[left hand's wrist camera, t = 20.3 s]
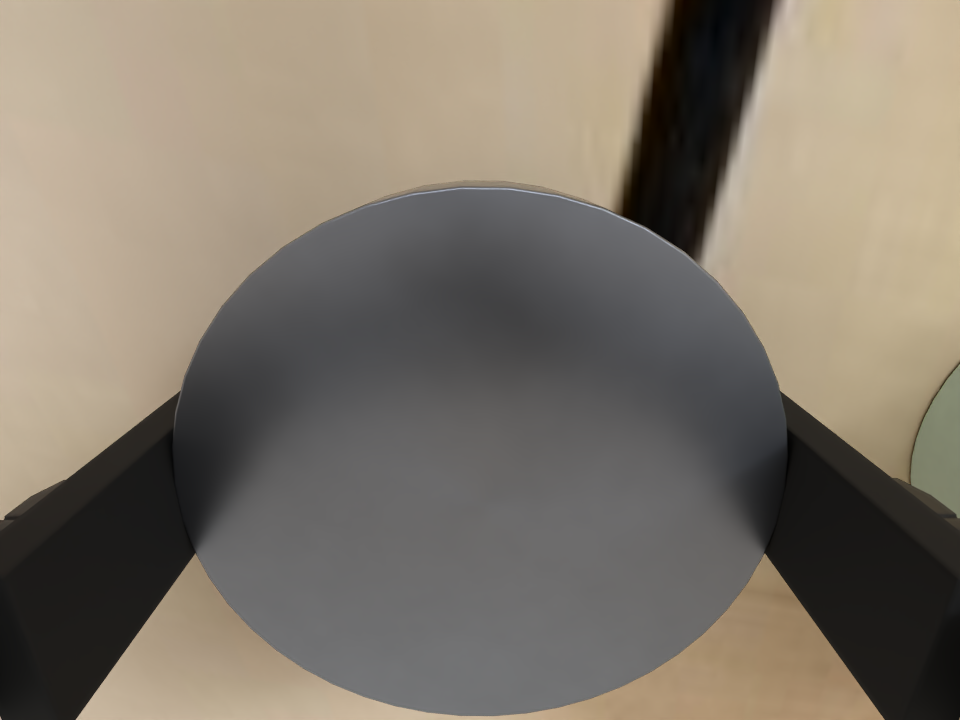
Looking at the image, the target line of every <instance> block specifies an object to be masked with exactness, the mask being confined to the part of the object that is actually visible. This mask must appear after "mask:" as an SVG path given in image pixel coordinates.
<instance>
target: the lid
mask: <svg viewBox="0 0 960 720" xmlns="http://www.w3.org/2000/svg"><path fill="white" fill-rule="evenodd" d="M172 457H173V473H174V485H175V489H176V494H177V498H178V502H179V507H180V511H181V516H182V519H183V522H184V525H185V528H186V530H187V533H188V536H189V538H190V541H191V544H192V546H193V549H194V551H195V552H196V554H197V556H198V558H199V560H200V562H201V564H202V565H203V567H204V569H205V571H206V573H207V575H208V577H209V578H210V580H211V581H212V582H213V584H214V585H215V586H216V588H217V589H218V591H219V592H220V593H221V595H222V596H223V598H224V599H225V600H226V602H227V603H228V604H229V606H230V607H231V608H232V609H233V610H234V611H235V612H236V613H237V614H238V615H239V616H240V617H241V618H242V620H243V621H244V622H245V623H246V624H247V625H248V626H249V627H250V628H251V629H252V630H253V631H254V632H255V633H257V634H258V635H259V636H260V637H261V638H263V639H264V640H265V641H266V642H267V643H268V644H270V645H271V646H272V647H273V648H274V649H276V650H277V651H278V652H280V653H281V654H283V655H284V656H286V657H287V658H289V659H290V660H292V661H293V662H295V663H296V664H298V665H299V666H300V667H302V668H303V669H305V670H307V671H309V672H311V673H313V674H315V675H317V676H318V677H320V678H322V679H324V680H326V681H328V682H330V683H332V684H334V685H336V686H339V687H341V688H344V689H346V690H348V691H351V692H353V693H356V694H358V695H361V696H363V697H366V698H370V699H373V700H376V701H380V702H383V703H387V704H390V705H393V706H397V707H402V708H408V709H413V710H418V711H423V712H428V713H438V714H448V715H458V716H500V715H512V714H524V713H531V712H536V711H542V710H548V709H553V708H559V707H562V706H566V705H570V704H573V703H577V702H580V701H584V700H588V699H591V698H594V697H596V696H599V695H601V694H604V693H607V692H609V691H612V690H614V689H617V688H619V687H622V686H624V685H626V684H628V683H630V682H632V681H634V680H636V679H638V678H640V677H642V676H644V675H646V674H648V673H650V672H651V671H653V670H655V669H656V668H658V667H659V666H661V665H662V664H664V663H665V662H667V661H668V660H670V659H672V658H673V657H675V656H676V655H678V654H679V653H680V652H682V651H683V650H684V649H685V648H687V647H688V646H689V645H690V644H691V643H693V642H694V641H695V640H696V639H698V638H699V637H700V636H701V635H703V634H704V633H705V632H706V631H707V630H708V629H709V628H710V627H711V626H712V625H713V624H714V623H715V622H716V621H717V620H718V619H719V618H720V616H721V615H722V614H723V613H724V612H725V611H726V610H727V609H728V608H729V607H730V605H731V604H732V603H733V601H734V600H735V599H736V597H737V596H738V595H739V594H740V592H741V591H742V590H743V588H744V587H745V586H746V584H747V583H748V581H749V580H750V578H751V576H752V574H753V573H754V571H755V569H756V567H757V566H758V564H759V562H760V560H761V559H762V557H763V555H764V553H765V551H766V548H767V546H768V543H769V541H770V539H771V536H772V534H773V531H774V529H775V526H776V524H777V520H778V516H779V512H780V507H781V503H782V499H783V495H784V491H785V485H786V474H787V464H788V442H787V425H786V417H785V412H784V408H783V403H782V399H781V394H780V390H779V385H778V381H777V379H776V376H775V374H774V371H773V369H772V366H771V364H770V361H769V359H768V356H767V354H766V351H765V349H764V346H763V345H762V343H761V341H760V340H759V338H758V336H757V335H756V333H755V331H754V330H753V328H752V326H751V325H750V323H749V321H748V320H747V318H746V316H745V315H744V313H743V312H742V310H741V309H740V308H739V307H738V306H737V304H736V303H735V302H734V301H733V300H732V298H731V297H730V296H729V295H728V294H727V292H726V291H725V290H724V289H723V288H722V286H721V285H720V284H719V283H718V282H717V280H715V279H714V278H713V277H712V276H711V275H710V274H709V273H708V272H706V271H705V270H704V269H703V268H702V267H701V266H700V265H699V264H697V263H696V262H695V261H694V260H693V259H692V258H691V257H690V256H688V255H687V254H686V253H685V252H684V251H682V250H681V249H679V248H678V247H676V246H674V245H673V244H671V243H670V242H668V241H667V240H665V239H664V238H662V237H661V236H659V235H658V234H656V233H654V232H653V231H651V230H650V229H648V228H647V227H645V226H643V225H640V224H638V223H636V222H634V221H632V220H630V219H627V218H625V217H623V216H621V215H619V214H617V213H614V212H612V211H610V210H608V209H606V208H603V207H601V206H599V205H596V204H594V203H591V202H589V201H586V200H584V199H581V198H578V197H575V196H571V195H568V194H565V193H561V192H558V191H555V190H551V189H548V188H545V187H539V186H532V185H526V184H519V183H513V182H506V181H457V182H449V183H441V184H433V185H425V186H421V187H417V188H414V189H410V190H406V191H403V192H399V193H395V194H391V195H388V196H385V197H382V198H380V199H378V200H375V201H373V202H370V203H368V204H365V205H363V206H361V207H358V208H356V209H354V210H351V211H349V212H347V213H344V214H342V215H340V216H337V217H335V218H333V219H330V220H328V221H326V222H323V223H321V224H320V225H318V226H316V227H315V228H313V229H311V230H310V231H308V232H307V233H305V234H303V235H302V236H300V237H298V238H297V239H295V240H293V241H292V242H290V243H288V244H287V245H285V246H284V247H282V248H281V249H280V250H279V251H277V252H276V253H275V254H274V255H273V256H271V257H270V258H269V259H268V260H267V261H265V262H264V263H263V264H262V265H261V266H259V267H258V268H257V269H256V270H255V271H253V272H252V273H251V274H250V275H249V276H248V277H247V278H246V279H245V281H244V282H243V283H242V284H241V285H240V286H239V287H238V288H237V290H236V291H235V292H234V293H233V294H232V295H231V296H230V297H229V299H228V300H227V301H226V302H225V303H224V304H223V305H222V307H221V308H220V310H219V311H218V313H217V314H216V316H215V318H214V319H213V321H212V322H211V324H210V325H209V327H208V329H207V330H206V332H205V333H204V335H203V336H202V338H201V339H200V341H199V344H198V346H197V348H196V351H195V353H194V355H193V358H192V360H191V362H190V364H189V367H188V369H187V371H186V374H185V376H184V380H183V384H182V388H181V392H180V396H179V400H178V404H177V407H176V411H175V421H174V431H173V442H172Z"/></svg>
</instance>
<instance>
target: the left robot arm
mask: <svg viewBox="0 0 960 720" xmlns="http://www.w3.org/2000/svg"><path fill="white" fill-rule="evenodd" d="M180 392H181V391H180ZM180 392H178V393H177V394H176V395H175V396H173V397H172V398H171V399H169V400H168V401H167V402H166V403H164V404H163V405H162V406H160V407H159V408H158V409H157V410H155V411H154V412H153V413H151V414H150V415H149V416H148V417H146V418H145V419H144V420H142V421H141V422H140V423H139V424H137V425H136V426H135V427H134V428H132V429H131V430H130V431H128V432H127V433H126V434H125V435H123V436H122V437H121V438H119V439H118V440H117V441H116V442H114V443H113V444H112V445H110V446H109V447H108V448H107V449H105V450H104V451H103V452H101V453H100V454H99V455H98V456H96V457H95V458H94V459H92V460H91V461H90V462H89V463H87V464H86V465H85V466H83V467H82V468H81V469H80V470H78V471H77V472H76V473H74V474H73V475H72V476H71V477H69V478H68V479H67V480H63V481H61V482H59V483H57V484H55V485H53V486H51V487H49V488H47V489H45V490H43V491H41V492H39V493H37V494H35V495H33V496H31V497H30V498H28V499H27V500H26V501H24V502H23V503H22V504H20V505H19V506H18V507H16V508H15V509H14V510H12V511H11V512H10V513H8V514H7V515H6V516H5V519H4V520H0V717H1V719H2V720H76V718H77V717H78V716H79V714H80V713H81V711H82V710H83V709H84V707H85V706H86V704H87V703H88V702H89V700H90V699H91V698H92V696H93V695H94V693H95V692H96V691H97V689H98V688H99V686H100V685H101V684H102V682H103V681H104V679H105V678H106V677H107V675H108V674H109V672H110V671H111V670H112V668H113V667H114V666H115V664H116V663H117V661H118V660H119V659H120V657H121V656H122V654H123V653H124V652H125V650H126V649H127V647H128V646H129V645H130V643H131V642H132V641H133V639H134V638H135V636H136V635H137V634H138V632H139V631H140V629H141V628H142V627H143V625H144V624H145V622H146V621H147V620H148V618H149V617H150V615H151V614H152V613H153V611H154V610H155V609H156V607H157V606H158V604H159V603H160V602H161V600H162V599H163V597H164V596H165V595H166V593H167V592H168V590H169V589H170V588H171V586H172V585H173V584H174V582H175V581H176V579H177V578H178V577H179V575H180V574H181V572H182V571H183V570H184V568H185V567H186V565H187V564H188V563H189V561H190V560H191V558H192V557H193V556H194V554H195V553H196V552H195V551H194V549H193V546H192V544H191V541H190V538H189V536H188V533H187V530H186V528H185V525H184V522H183V519H182V516H181V511H180V507H179V502H178V498H177V494H176V489H175V485H174V473H173V457H172V442H173V431H174V421H175V411H176V407H177V404H178V400H179V396H180ZM780 394H781V399H782V403H783V408H784V412H785V417H786V425H787V442H788V464H787V474H786V485H785V491H784V495H783V499H782V503H781V507H780V512H779V516H778V520H777V524H776V526H775V529H774V531H773V534H772V536H771V539H770V541H769V543H768V546H767V548H766V551H765V554H766V555H767V557H768V558H769V559H770V561H771V562H772V564H773V565H774V566H775V568H776V569H777V570H778V572H779V573H780V575H781V576H782V577H783V579H784V580H785V582H786V583H787V584H788V586H789V587H790V589H791V590H792V591H793V593H794V594H795V596H796V597H797V598H798V600H799V601H800V602H801V604H802V605H803V607H804V608H805V609H806V611H807V612H808V614H809V615H810V616H811V618H812V619H813V621H814V622H815V623H816V625H817V626H818V627H819V629H820V630H821V632H822V633H823V634H824V636H825V637H826V639H827V640H828V641H829V643H830V644H831V646H832V647H833V648H834V650H835V651H836V653H837V654H838V655H839V657H840V658H841V659H842V661H843V662H844V664H845V665H846V666H847V668H848V669H849V671H850V672H851V673H852V675H853V676H854V678H855V679H856V680H857V682H858V683H859V684H860V686H861V687H862V689H863V690H864V691H865V693H866V694H867V696H868V697H869V698H870V700H871V701H872V703H873V704H874V705H875V707H876V708H877V710H878V711H879V712H880V714H881V715H882V716H883V718H884V719H885V720H959V718H960V518H957V514H956V513H954V512H953V511H952V510H950V509H949V508H948V507H946V506H945V505H944V504H942V503H941V502H940V501H938V500H937V499H936V498H934V497H933V496H932V495H930V494H928V493H926V492H924V491H922V490H920V489H918V488H916V487H914V486H912V485H910V484H908V483H906V482H904V481H902V480H900V479H898V478H891V477H890V476H888V475H887V474H886V473H885V472H883V471H882V470H881V469H880V468H878V467H877V466H876V465H874V464H873V463H872V462H871V461H869V460H868V459H867V458H865V457H864V456H863V455H862V454H860V453H859V452H858V451H856V450H855V449H854V448H853V447H851V446H850V445H849V444H847V443H846V442H845V441H844V440H842V439H841V438H840V437H838V436H837V435H836V434H835V433H833V432H832V431H831V430H829V429H828V428H827V427H826V426H824V425H823V424H822V423H820V422H819V421H818V420H817V419H815V418H814V417H813V416H811V415H810V414H809V413H808V412H806V411H805V410H804V409H803V408H801V407H800V406H799V405H797V404H796V403H795V402H794V401H792V400H791V399H790V398H788V397H787V396H786V395H785V394H783V393H782V392H781V391H780Z"/></svg>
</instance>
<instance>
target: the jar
mask: <svg viewBox="0 0 960 720" xmlns="http://www.w3.org/2000/svg"><path fill="white" fill-rule="evenodd" d="M911 485H912V486H914V487H916V488H918V489H920V490H922V491H924V492H926V493H928V494H930V495H932V496H933V497H934V498H936V499H937V500H938V501H940V502H941V503H942V504H944V505H945V506H946V507H948V508H949V509H950V510H952V511H953V512H954V513H956V514H957V518H960V364H959V365H958V367H957V368H956V369H955V370H954V371H953V373H952V374H951V375H950V376H949V377H948V379H947V380H946V382H945V383H944V385H943V386H942V388H941V389H940V391H939V392H938V394H937V395H936V397H935V398H934V400H933V402H932V404H931V406H930V408H929V409H928V411H927V413H926V415H925V417H924V419H923V422H922V425H921V427H920V430H919V433H918V435H917V438H916V442H915V446H914V451H913V455H912V463H911Z"/></svg>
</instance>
